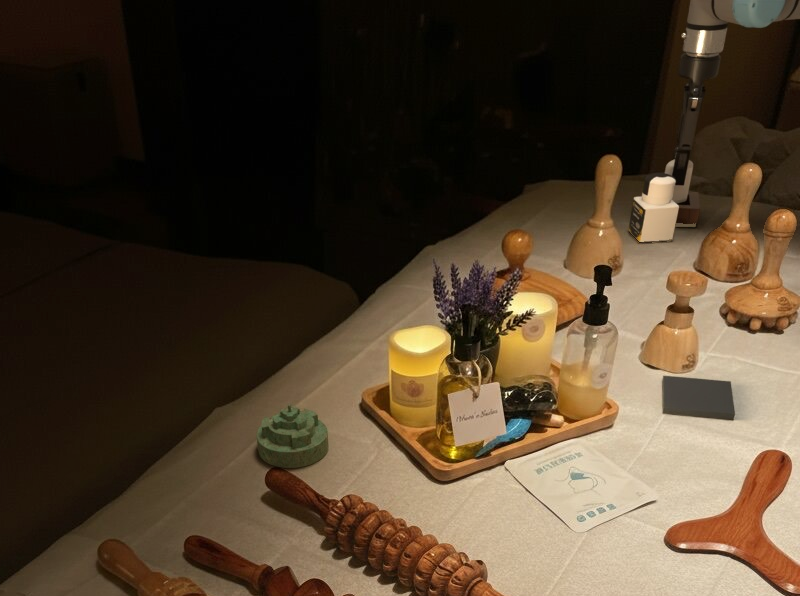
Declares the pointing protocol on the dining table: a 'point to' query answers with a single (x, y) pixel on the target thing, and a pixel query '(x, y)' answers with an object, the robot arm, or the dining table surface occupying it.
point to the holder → (689, 209)
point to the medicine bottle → (654, 209)
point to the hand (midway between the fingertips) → (676, 180)
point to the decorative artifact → (292, 438)
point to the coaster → (697, 397)
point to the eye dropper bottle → (680, 190)
